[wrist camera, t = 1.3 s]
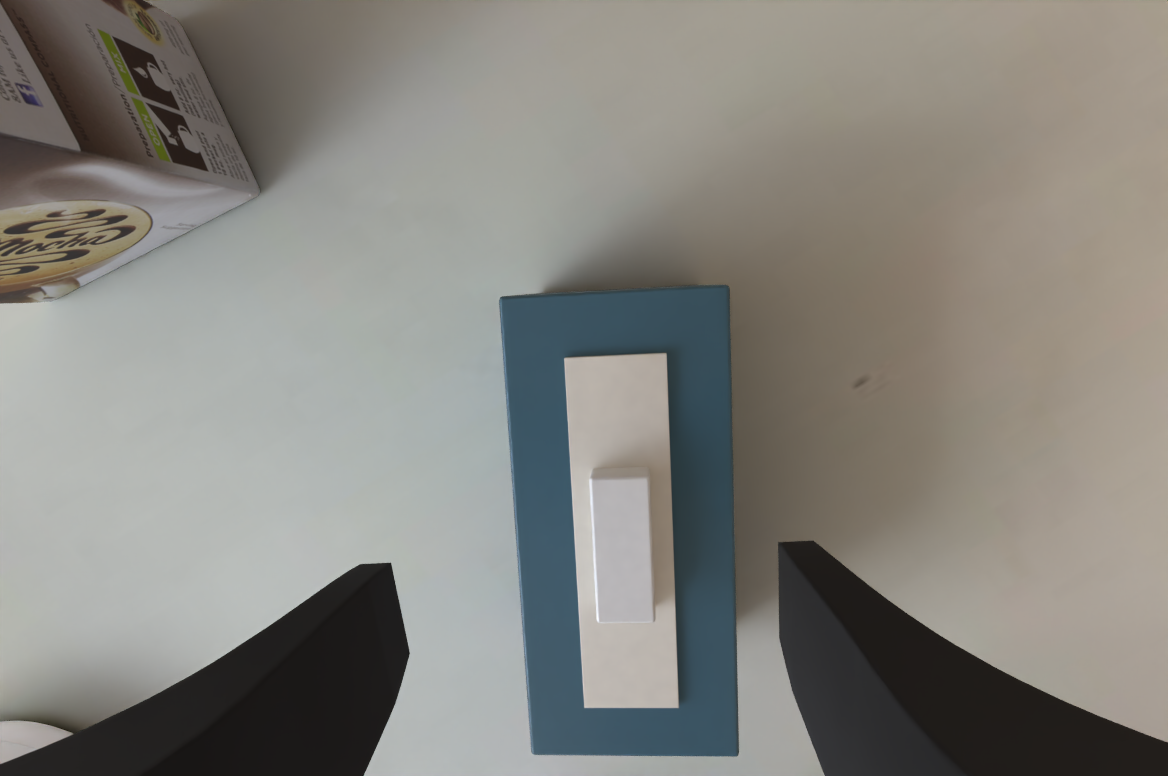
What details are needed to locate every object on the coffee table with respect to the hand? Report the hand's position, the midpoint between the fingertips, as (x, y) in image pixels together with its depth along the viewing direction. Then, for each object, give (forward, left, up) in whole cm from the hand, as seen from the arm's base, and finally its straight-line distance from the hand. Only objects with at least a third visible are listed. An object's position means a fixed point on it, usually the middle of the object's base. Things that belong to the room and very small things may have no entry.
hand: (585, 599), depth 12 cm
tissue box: (-1, 0, -10) cm, 10 cm away
